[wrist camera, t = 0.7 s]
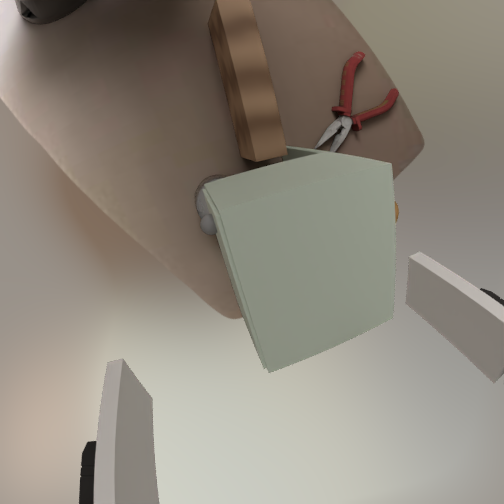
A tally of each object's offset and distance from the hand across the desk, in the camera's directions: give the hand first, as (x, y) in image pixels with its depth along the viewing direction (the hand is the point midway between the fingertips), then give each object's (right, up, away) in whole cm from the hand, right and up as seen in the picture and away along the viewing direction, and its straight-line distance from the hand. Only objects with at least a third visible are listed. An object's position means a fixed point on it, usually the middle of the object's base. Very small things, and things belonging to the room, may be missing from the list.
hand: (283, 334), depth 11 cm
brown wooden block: (-3, +28, +25) cm, 37 cm away
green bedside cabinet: (-1, +10, +33) cm, 34 cm away
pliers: (+14, +29, +30) cm, 44 cm away
